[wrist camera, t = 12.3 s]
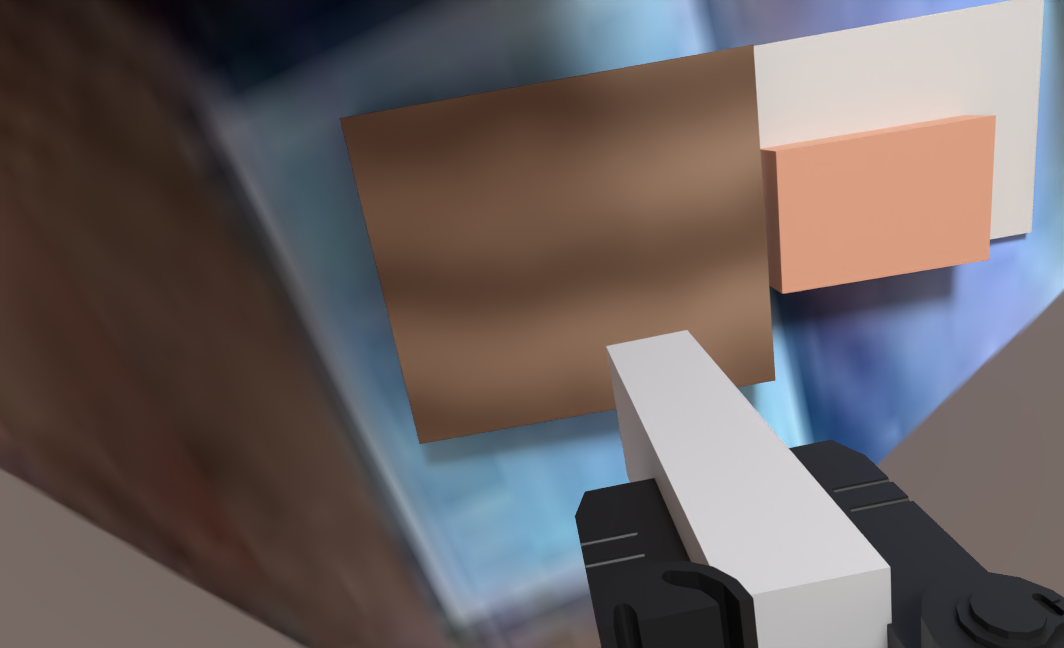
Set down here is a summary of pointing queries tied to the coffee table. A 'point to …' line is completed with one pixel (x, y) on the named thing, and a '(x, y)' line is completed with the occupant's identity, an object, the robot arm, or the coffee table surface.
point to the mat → (917, 87)
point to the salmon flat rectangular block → (878, 202)
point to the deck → (566, 235)
